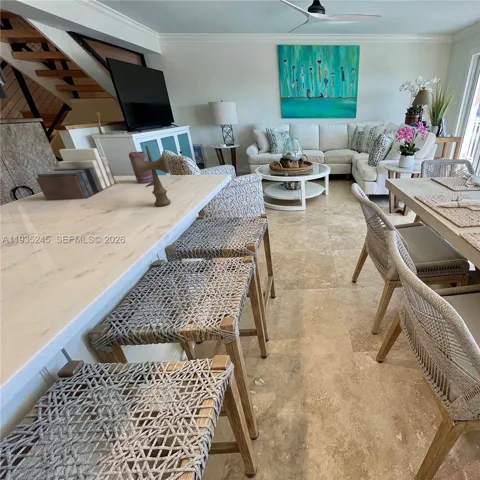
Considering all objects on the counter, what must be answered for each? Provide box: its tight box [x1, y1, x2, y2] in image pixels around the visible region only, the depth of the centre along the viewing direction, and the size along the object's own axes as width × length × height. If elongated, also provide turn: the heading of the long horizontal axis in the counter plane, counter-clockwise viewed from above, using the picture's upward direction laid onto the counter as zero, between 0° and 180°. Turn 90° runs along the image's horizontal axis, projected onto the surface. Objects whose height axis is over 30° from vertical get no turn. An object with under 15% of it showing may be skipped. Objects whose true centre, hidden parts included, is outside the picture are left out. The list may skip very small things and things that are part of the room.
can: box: [128, 150, 154, 188], centre depth 114 cm, size 6×6×14 cm
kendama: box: [133, 145, 172, 207], centre depth 89 cm, size 6×10×20 cm, turn 113°
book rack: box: [35, 156, 118, 202], centre depth 102 cm, size 14×22×12 cm, turn 9°
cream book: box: [58, 147, 110, 187], centre depth 106 cm, size 12×2×15 cm, turn 99°
